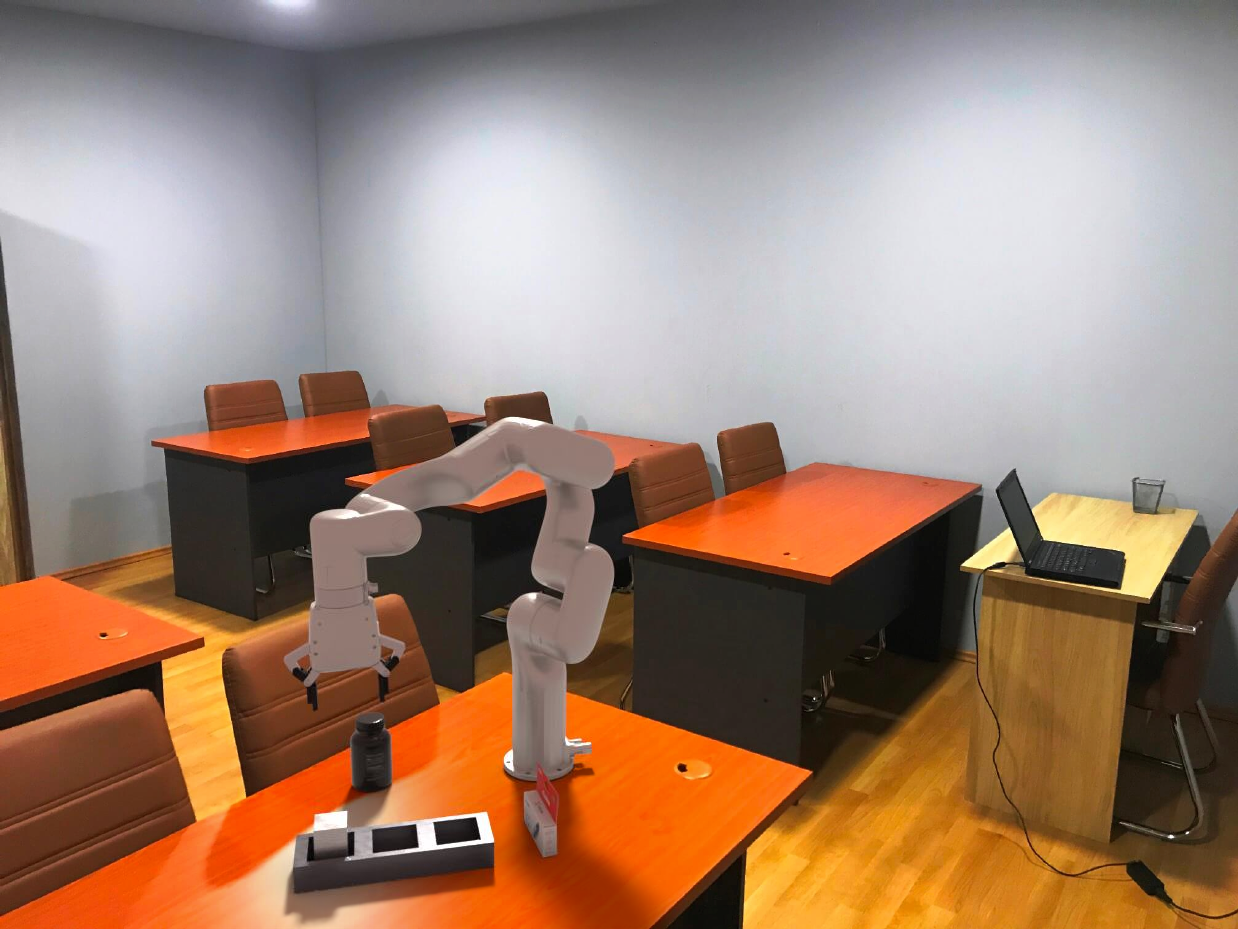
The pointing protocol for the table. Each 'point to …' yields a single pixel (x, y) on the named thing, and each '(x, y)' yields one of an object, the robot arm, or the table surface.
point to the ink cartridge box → (542, 814)
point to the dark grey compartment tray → (397, 852)
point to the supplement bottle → (371, 753)
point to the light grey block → (330, 835)
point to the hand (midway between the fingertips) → (349, 703)
